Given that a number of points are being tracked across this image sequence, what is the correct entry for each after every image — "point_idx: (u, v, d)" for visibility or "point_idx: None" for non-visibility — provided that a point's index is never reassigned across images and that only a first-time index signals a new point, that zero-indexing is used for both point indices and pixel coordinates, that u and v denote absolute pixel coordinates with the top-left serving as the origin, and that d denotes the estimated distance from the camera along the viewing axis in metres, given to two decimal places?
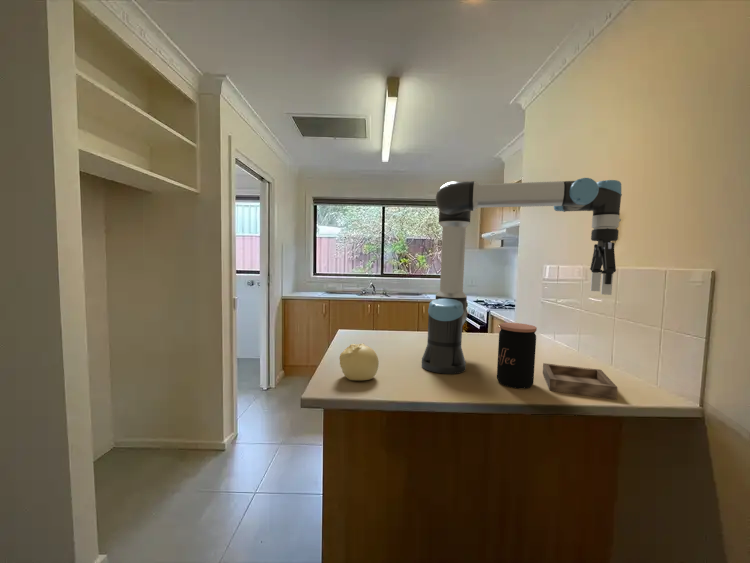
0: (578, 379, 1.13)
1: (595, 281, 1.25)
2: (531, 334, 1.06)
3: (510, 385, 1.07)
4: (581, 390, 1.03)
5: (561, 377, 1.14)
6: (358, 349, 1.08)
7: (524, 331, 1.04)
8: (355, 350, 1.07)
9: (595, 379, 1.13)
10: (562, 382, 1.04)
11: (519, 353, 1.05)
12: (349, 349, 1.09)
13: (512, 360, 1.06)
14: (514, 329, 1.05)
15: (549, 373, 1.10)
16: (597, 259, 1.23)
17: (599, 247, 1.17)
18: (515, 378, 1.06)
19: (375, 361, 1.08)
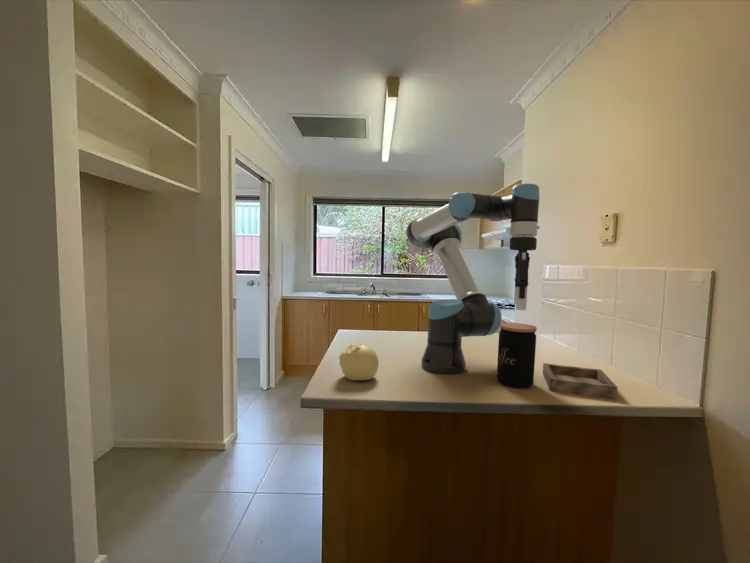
0: (578, 379, 1.13)
1: None
2: (531, 334, 1.06)
3: (510, 385, 1.07)
4: (581, 390, 1.03)
5: (561, 377, 1.14)
6: (358, 349, 1.08)
7: (524, 331, 1.04)
8: (355, 350, 1.07)
9: (595, 379, 1.13)
10: (562, 382, 1.04)
11: (519, 353, 1.05)
12: (349, 349, 1.09)
13: (512, 360, 1.06)
14: (514, 329, 1.05)
15: (549, 373, 1.10)
16: (518, 270, 1.12)
17: (516, 257, 1.07)
18: (515, 378, 1.06)
19: (375, 361, 1.08)
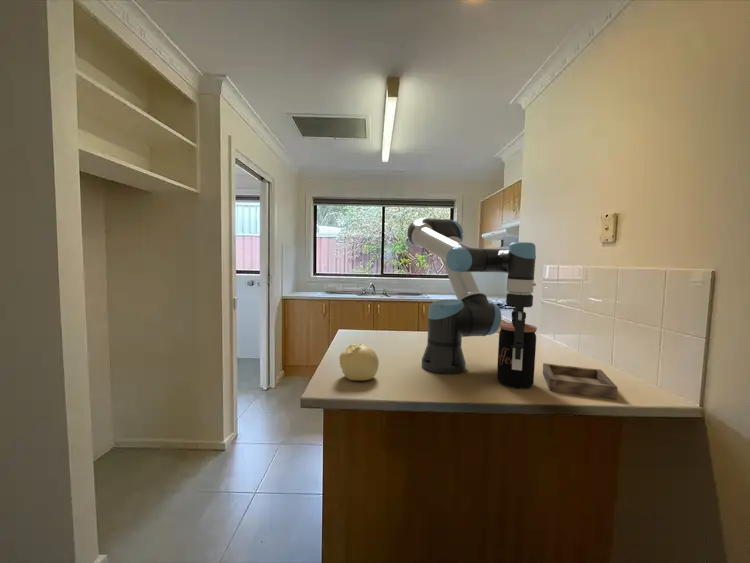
0: (578, 379, 1.13)
1: None
2: (531, 334, 1.06)
3: (510, 385, 1.07)
4: (581, 390, 1.03)
5: (561, 377, 1.14)
6: (358, 349, 1.08)
7: (524, 331, 1.04)
8: (355, 350, 1.07)
9: (595, 379, 1.13)
10: (562, 382, 1.04)
11: None
12: (349, 349, 1.08)
13: None
14: (514, 329, 1.05)
15: (549, 373, 1.10)
16: None
17: (513, 314, 1.08)
18: (515, 378, 1.06)
19: (375, 361, 1.08)
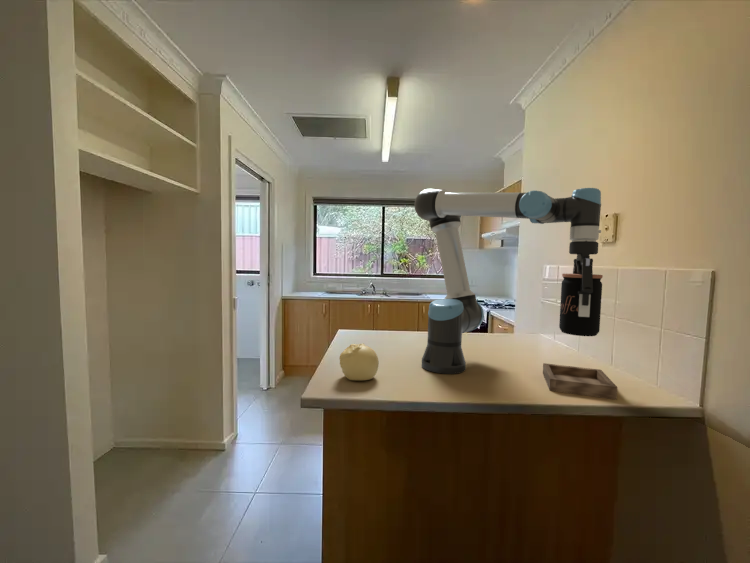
0: (578, 379, 1.13)
1: None
2: (598, 280, 1.04)
3: (576, 333, 1.05)
4: (581, 390, 1.03)
5: (561, 377, 1.14)
6: (358, 349, 1.08)
7: None
8: (355, 350, 1.07)
9: (595, 379, 1.13)
10: (562, 382, 1.04)
11: None
12: (349, 349, 1.08)
13: (578, 307, 1.04)
14: (580, 275, 1.04)
15: (549, 373, 1.10)
16: None
17: (577, 262, 1.07)
18: (582, 326, 1.04)
19: (375, 361, 1.08)
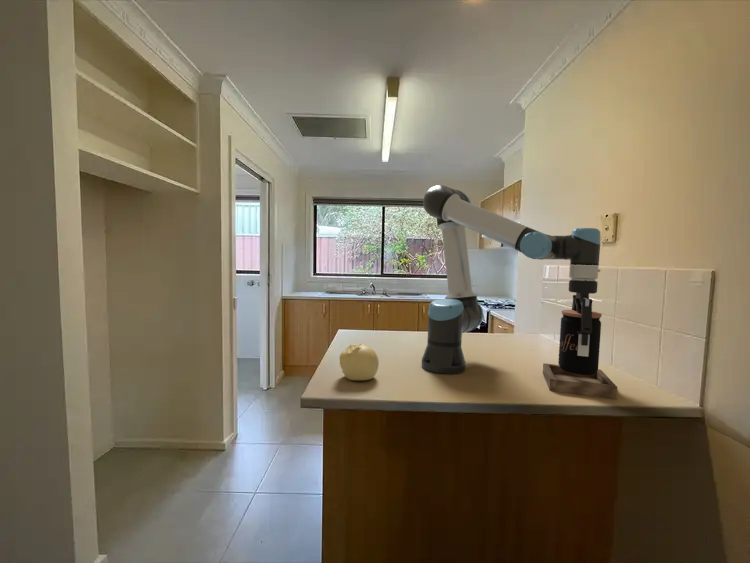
0: (578, 379, 1.13)
1: None
2: (597, 320, 1.05)
3: (575, 372, 1.06)
4: (581, 390, 1.03)
5: (561, 377, 1.14)
6: (358, 349, 1.08)
7: None
8: (355, 350, 1.07)
9: (595, 379, 1.13)
10: (562, 382, 1.04)
11: None
12: (349, 349, 1.08)
13: (577, 346, 1.05)
14: (580, 315, 1.05)
15: (549, 373, 1.10)
16: None
17: (577, 300, 1.08)
18: (581, 365, 1.05)
19: (375, 361, 1.08)
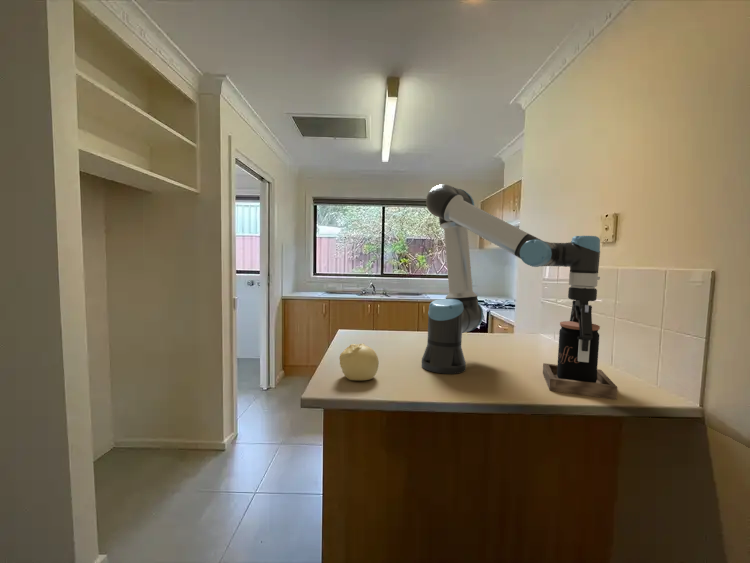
0: None
1: None
2: (595, 332, 1.05)
3: None
4: (581, 390, 1.03)
5: None
6: (358, 349, 1.08)
7: None
8: (355, 350, 1.07)
9: None
10: (562, 382, 1.04)
11: None
12: (349, 349, 1.08)
13: (576, 358, 1.06)
14: (578, 327, 1.05)
15: (549, 373, 1.10)
16: (575, 318, 1.13)
17: (576, 307, 1.08)
18: (579, 377, 1.06)
19: (375, 361, 1.08)
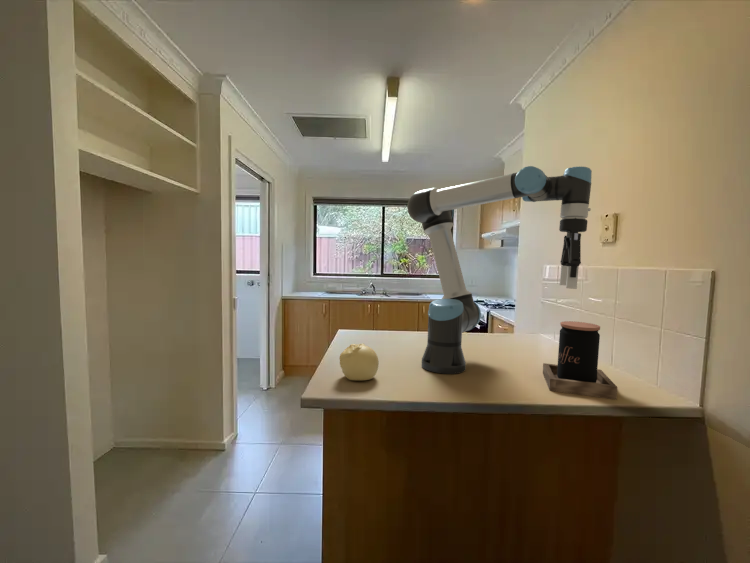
0: None
1: (564, 275, 1.19)
2: (595, 332, 1.05)
3: None
4: (581, 390, 1.03)
5: None
6: (358, 349, 1.08)
7: (589, 329, 1.04)
8: (355, 350, 1.07)
9: None
10: (562, 382, 1.04)
11: (584, 351, 1.05)
12: (349, 349, 1.08)
13: (576, 359, 1.06)
14: (579, 327, 1.05)
15: (549, 373, 1.10)
16: (566, 251, 1.16)
17: (567, 238, 1.10)
18: (579, 377, 1.05)
19: (375, 361, 1.08)
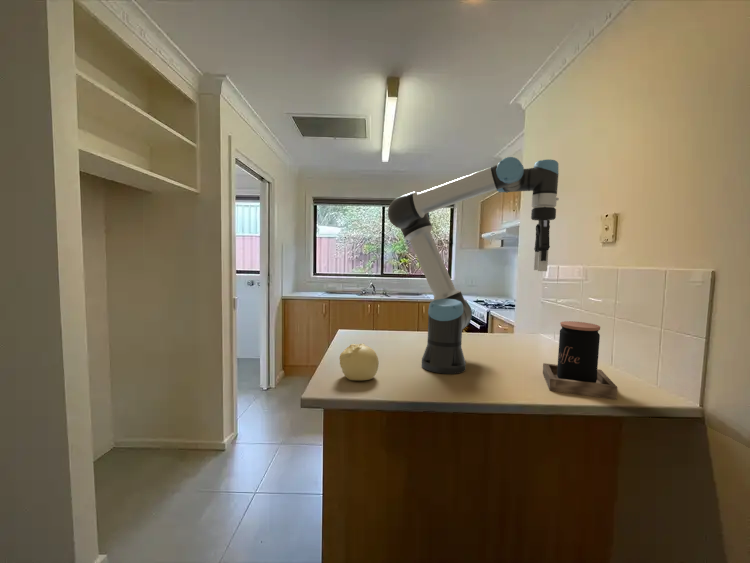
0: None
1: (538, 260, 1.28)
2: (595, 333, 1.05)
3: None
4: (581, 390, 1.03)
5: None
6: (358, 349, 1.08)
7: (589, 329, 1.04)
8: (355, 350, 1.07)
9: None
10: (562, 382, 1.04)
11: (584, 351, 1.05)
12: (349, 349, 1.08)
13: (576, 359, 1.06)
14: (579, 327, 1.05)
15: (549, 373, 1.10)
16: (538, 238, 1.25)
17: (538, 226, 1.20)
18: (579, 377, 1.05)
19: (375, 361, 1.08)
